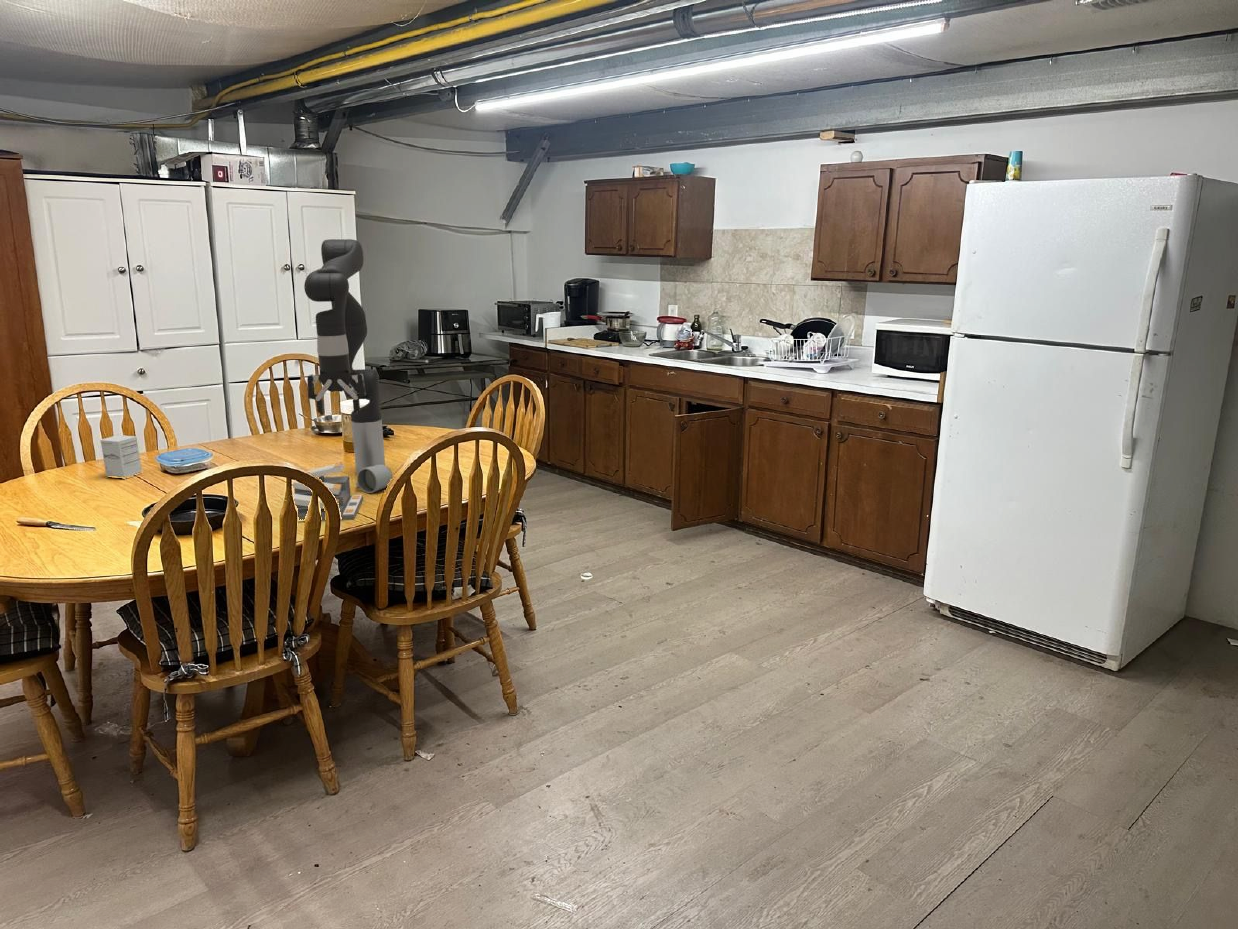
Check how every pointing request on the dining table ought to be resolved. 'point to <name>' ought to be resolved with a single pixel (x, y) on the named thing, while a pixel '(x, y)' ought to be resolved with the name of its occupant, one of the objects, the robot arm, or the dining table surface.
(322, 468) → the rear rocker
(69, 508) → the dining table surface
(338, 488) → the middle rocker
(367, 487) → the ceramic mug
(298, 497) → the block
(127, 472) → the supplement box
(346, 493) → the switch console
